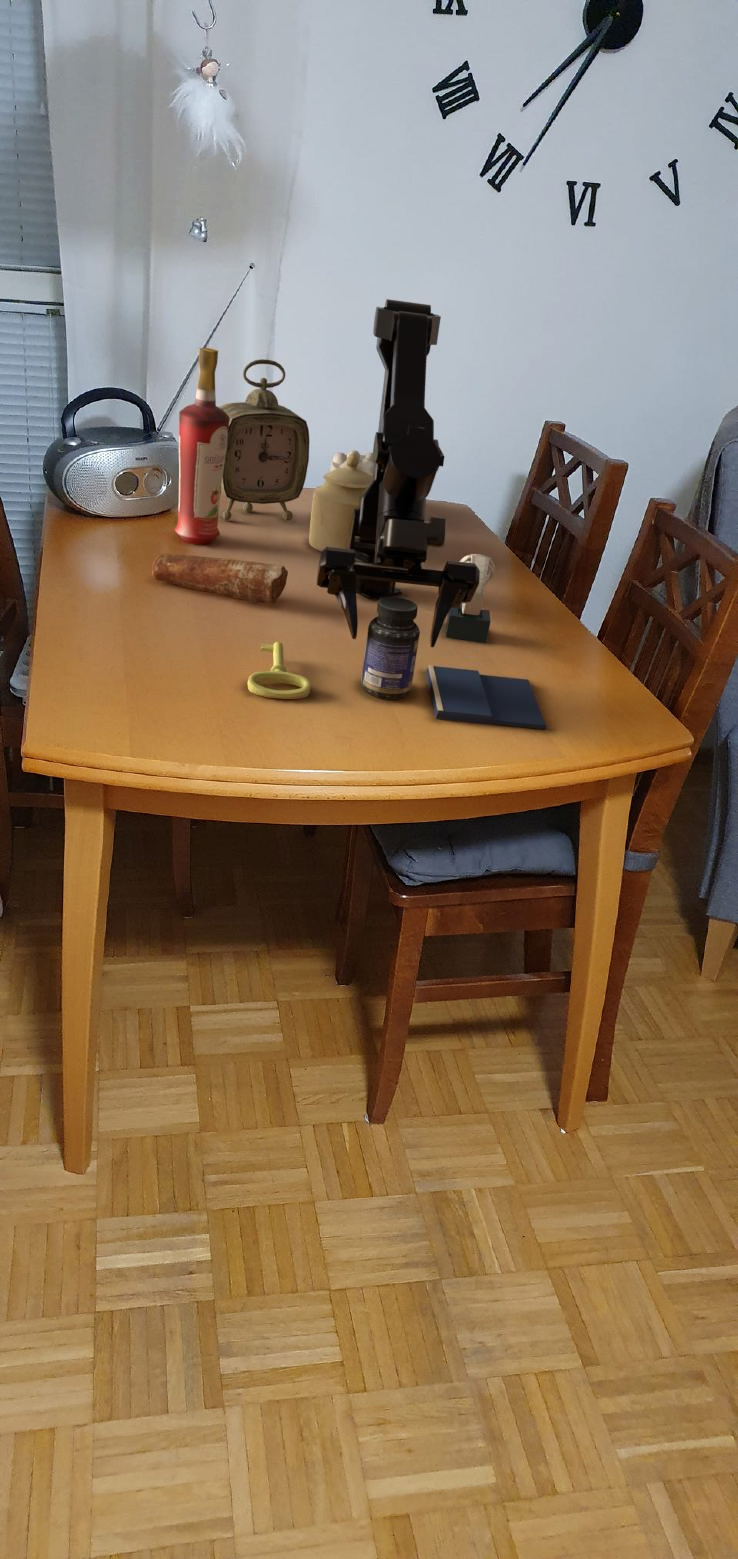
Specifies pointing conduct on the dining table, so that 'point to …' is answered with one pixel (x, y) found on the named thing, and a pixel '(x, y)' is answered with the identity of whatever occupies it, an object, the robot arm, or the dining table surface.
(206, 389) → the liquor
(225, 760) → the dining table surface
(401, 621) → the pill bottle
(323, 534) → the sugar bowl
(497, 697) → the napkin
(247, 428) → the tabletop clock
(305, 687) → the key
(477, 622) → the watch
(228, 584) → the brown rough cylinder
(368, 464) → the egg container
